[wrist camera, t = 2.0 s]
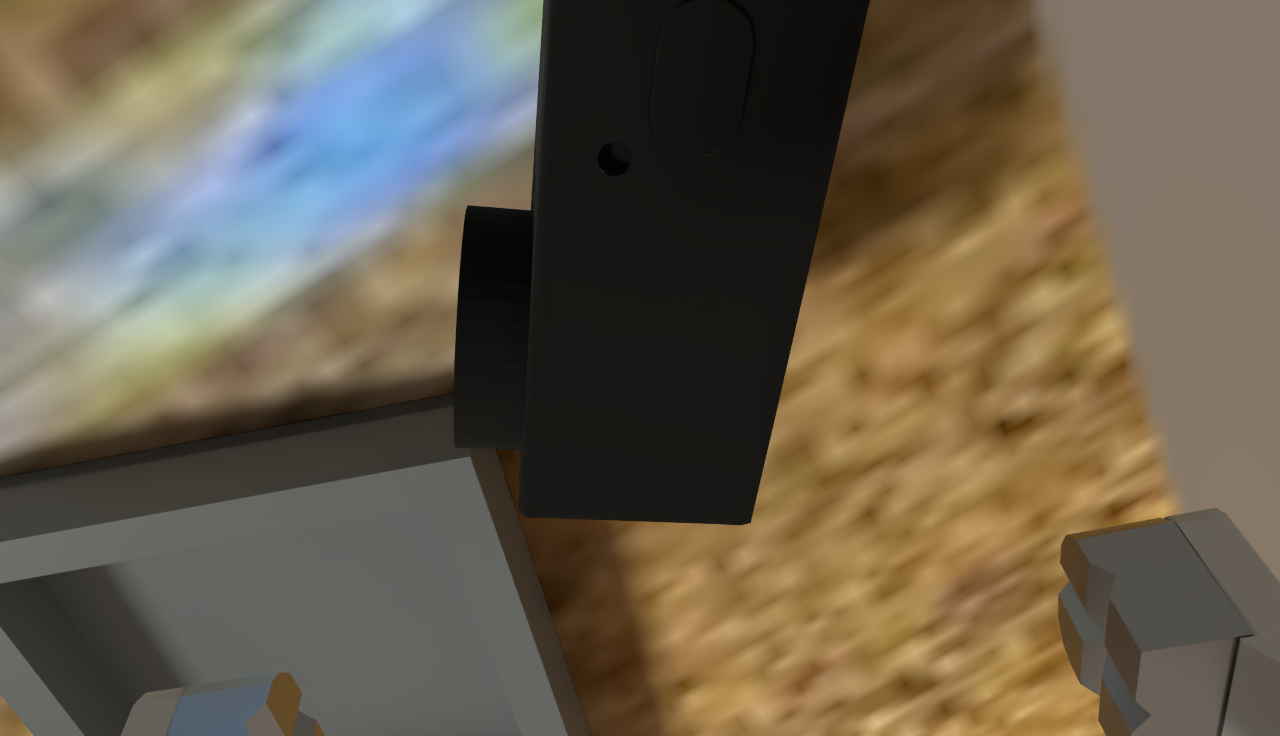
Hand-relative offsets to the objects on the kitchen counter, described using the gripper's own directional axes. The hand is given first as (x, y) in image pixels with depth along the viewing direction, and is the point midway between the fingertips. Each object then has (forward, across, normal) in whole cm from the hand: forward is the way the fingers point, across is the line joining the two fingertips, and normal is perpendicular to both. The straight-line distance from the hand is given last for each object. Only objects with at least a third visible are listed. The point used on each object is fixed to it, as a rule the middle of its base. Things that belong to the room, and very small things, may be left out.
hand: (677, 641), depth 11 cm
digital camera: (+14, 0, -1) cm, 14 cm away
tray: (+14, +11, +13) cm, 22 cm away
